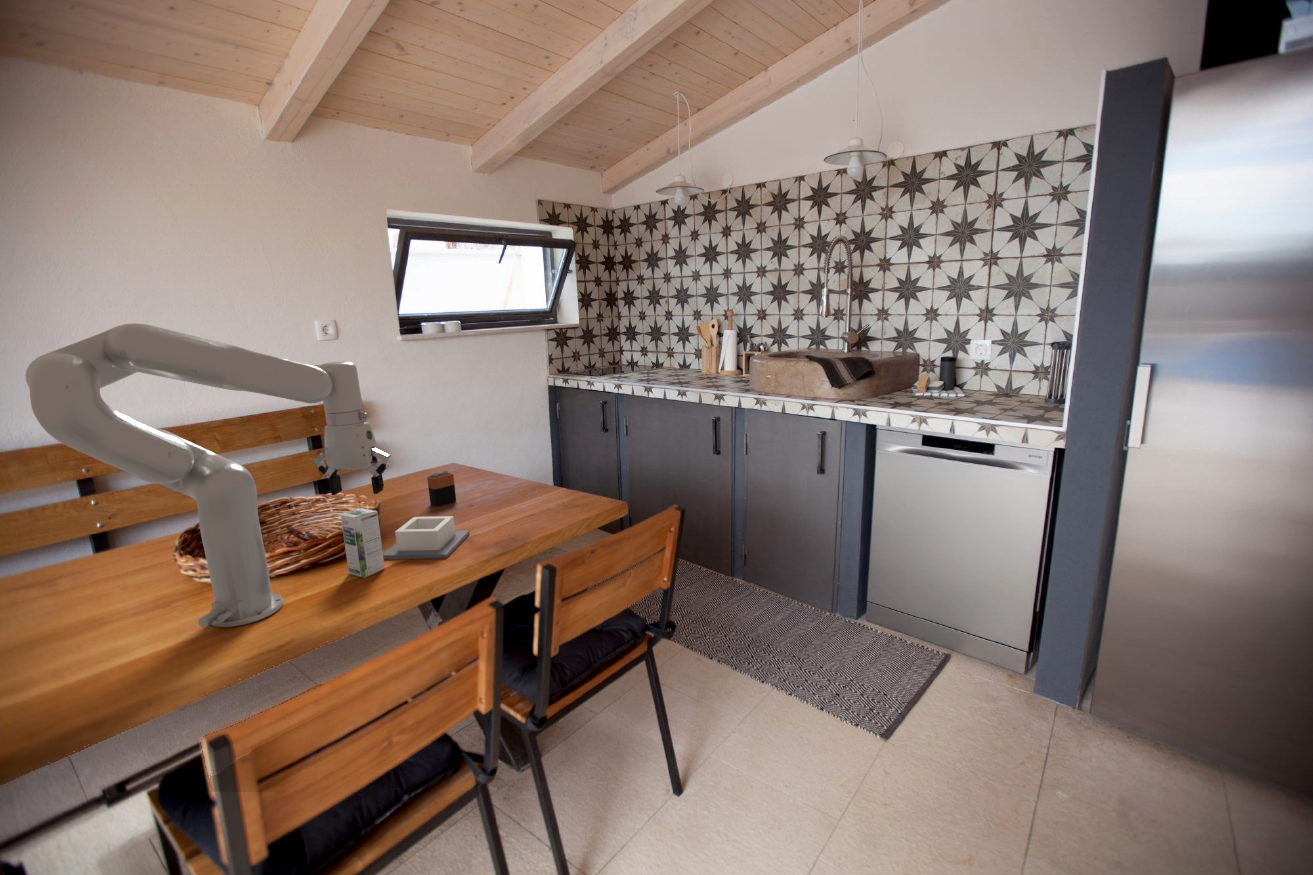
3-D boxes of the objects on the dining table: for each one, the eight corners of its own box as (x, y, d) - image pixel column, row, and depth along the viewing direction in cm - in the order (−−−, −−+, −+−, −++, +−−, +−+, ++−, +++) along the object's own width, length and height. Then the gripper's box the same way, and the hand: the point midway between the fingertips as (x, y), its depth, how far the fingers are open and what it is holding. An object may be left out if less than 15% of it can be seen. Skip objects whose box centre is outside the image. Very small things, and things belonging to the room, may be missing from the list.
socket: (446, 558, 147) (443, 534, 146) (382, 559, 148) (378, 535, 147) (469, 533, 163) (467, 512, 161) (411, 534, 163) (408, 513, 162)
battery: (429, 504, 189) (426, 473, 187) (450, 499, 194) (446, 468, 192) (436, 507, 186) (433, 475, 184) (457, 501, 191) (453, 470, 189)
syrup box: (347, 574, 140) (338, 514, 137) (370, 564, 145) (361, 506, 142) (364, 578, 137) (355, 517, 134) (386, 568, 142) (378, 509, 139)
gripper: (391, 413, 137) (402, 486, 140) (317, 416, 138) (330, 488, 142) (375, 420, 129) (386, 497, 133) (296, 423, 130) (310, 499, 134)
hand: (357, 492), depth 137 cm, fingers open, 9 cm apart
